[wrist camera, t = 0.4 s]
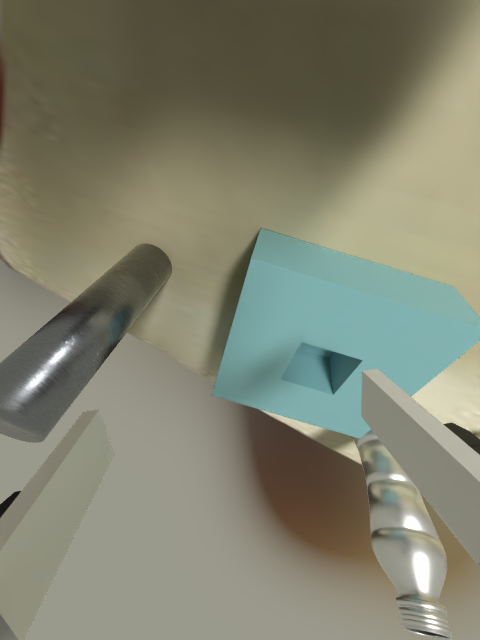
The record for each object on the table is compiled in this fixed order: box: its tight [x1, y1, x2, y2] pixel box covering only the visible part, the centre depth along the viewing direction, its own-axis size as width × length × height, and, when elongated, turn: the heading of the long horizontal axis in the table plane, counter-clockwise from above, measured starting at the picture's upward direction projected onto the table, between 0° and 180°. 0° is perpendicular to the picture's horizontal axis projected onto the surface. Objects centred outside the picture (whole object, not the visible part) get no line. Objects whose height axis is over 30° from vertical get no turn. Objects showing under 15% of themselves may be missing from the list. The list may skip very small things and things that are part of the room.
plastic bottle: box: [354, 430, 452, 640], centre depth 29 cm, size 6×7×20 cm
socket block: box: [212, 228, 480, 439], centre depth 27 cm, size 18×18×6 cm
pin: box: [0, 244, 172, 442], centre depth 21 cm, size 4×4×18 cm
